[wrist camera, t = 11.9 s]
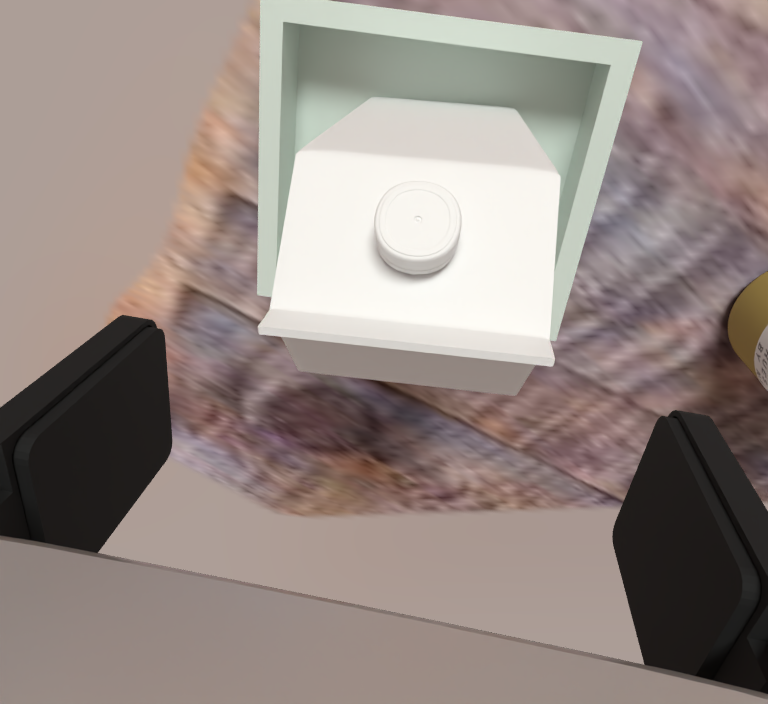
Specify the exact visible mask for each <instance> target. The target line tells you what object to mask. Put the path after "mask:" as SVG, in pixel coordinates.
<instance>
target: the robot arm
mask: <svg viewBox="0 0 768 704" xmlns="http://www.w3.org/2000/svg"><path fill="white" fill-rule="evenodd" d="M171 448H172V430H171V416H170V402H169V388H168V374H167V360H166V346H165V335H164V332H163V330H161V329H158V328H157V326H156V324H155V322H154V321H153V320H149V319H143V318H137V317H132V316H126V315H122V316H120V317H118V318H117V319H115V320H114V321H113V322H111V323H110V324H109V325H107V326H106V327H105V328H103V329H102V330H101V331H100V332H98V333H97V334H96V335H95V336H93V337H92V338H90V339H89V340H88V341H87V342H85V343H84V344H83V345H81V346H80V347H79V348H78V349H76V350H75V351H74V352H72V353H71V354H70V355H68V356H67V357H66V358H64V359H63V360H62V361H61V362H59V363H58V364H57V365H56V366H54V367H53V368H51V369H50V370H49V371H47V372H46V373H45V374H44V375H43V376H41V377H40V378H38V379H37V380H36V381H35V382H33V383H32V384H31V385H29V386H28V387H27V388H25V389H24V390H23V391H21V392H20V393H19V394H18V395H16V396H15V397H14V398H12V399H11V400H10V401H8V402H7V403H6V404H5V405H3V406H2V407H1V408H0V704H768V511H767V509H766V508H765V506H764V504H763V503H762V501H761V499H760V498H759V496H758V495H757V493H756V491H755V490H754V488H753V486H752V485H751V483H750V481H749V480H748V478H747V476H746V475H745V473H744V471H743V470H742V468H741V467H740V465H739V463H738V462H737V460H736V458H735V457H734V455H733V453H732V452H731V450H730V448H729V447H728V445H727V443H726V442H725V440H724V439H723V437H722V435H721V434H720V432H719V430H718V429H717V427H716V425H715V424H714V422H713V420H712V419H711V418H710V417H709V416H706V415H700V414H695V413H689V412H683V411H677V410H675V411H672V412H671V413H670V414H669V416H668V417H666V416H661V417H660V418H659V419H658V420H657V422H656V424H655V427H654V429H653V432H652V434H651V437H650V439H649V442H648V444H647V446H646V449H645V451H644V454H643V456H642V459H641V461H640V463H639V466H638V468H637V471H636V473H635V476H634V478H633V480H632V483H631V485H630V488H629V490H628V493H627V495H626V497H625V500H624V502H623V505H622V507H621V510H620V512H619V514H618V517H617V519H616V522H615V525H614V529H613V546H614V549H615V553H616V557H617V561H618V565H619V569H620V573H621V576H622V580H623V584H624V588H625V592H626V595H627V599H628V603H629V607H630V611H631V614H632V618H633V622H634V626H635V629H636V634H637V637H638V641H639V645H640V649H641V653H642V656H643V660H644V664H645V665H642V664H638V663H633V662H629V661H624V660H620V659H615V658H610V657H606V656H602V655H597V654H592V653H587V652H583V651H578V650H573V649H568V648H564V647H558V646H554V645H549V644H544V643H540V642H535V641H530V640H525V639H521V638H516V637H511V636H506V635H501V634H497V633H492V632H487V631H482V630H477V629H473V628H468V627H463V626H458V625H454V624H449V623H444V622H439V621H434V620H429V619H424V618H419V617H415V616H410V615H404V614H400V613H395V612H390V611H385V610H380V609H375V608H370V607H365V606H361V605H355V604H351V603H346V602H341V601H336V600H331V599H326V598H321V597H316V596H311V595H306V594H302V593H296V592H292V591H286V590H282V589H277V588H272V587H267V586H262V585H257V584H252V583H247V582H241V581H237V580H232V579H227V578H222V577H217V576H212V575H206V574H201V573H196V572H191V571H186V570H181V569H176V568H171V567H166V566H161V565H156V564H151V563H145V562H140V561H135V560H130V559H125V558H120V557H115V556H110V555H105V554H100V553H98V552H99V550H100V549H101V548H102V546H103V545H104V544H105V542H106V541H107V539H108V538H109V537H110V536H111V534H112V533H113V532H114V530H115V529H116V527H117V526H118V524H119V523H120V522H121V521H122V519H123V518H124V517H125V515H126V514H127V513H128V511H129V510H130V509H131V507H132V506H133V505H134V503H135V502H136V501H137V499H138V498H139V497H140V495H141V494H142V493H143V491H144V490H145V488H146V487H147V486H148V485H149V483H150V482H151V481H152V479H153V478H154V477H155V475H156V474H157V472H158V471H159V470H160V468H161V467H162V465H163V464H164V463H165V462H166V460H167V459H168V457H169V455H170V452H171Z"/></svg>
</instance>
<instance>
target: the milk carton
mask: <svg viewBox="0 0 768 704" xmlns="http://www.w3.org/2000/svg"><path fill="white" fill-rule="evenodd" d="M560 178H561V176H560V175H559V174H558V171H557V170H556V168H555V166H554V165H553V163H552V162H551V161H550V159H549V158H548V156H547V155H546V153H545V152H544V150H543V149H542V147H541V146H540V144H539V143H538V141H537V140H536V138H535V137H534V135H533V134H532V132H531V131H530V129H529V128H528V126H527V125H526V123H525V122H524V121H523V119H522V118H521V116H520V115H519V113H518V112H517V110H516V109H515V108H511V107H502V106H490V105H478V104H465V103H452V102H440V101H427V100H415V99H402V98H389V97H371V98H370V99H368V100H367V101H366V102H364V103H363V104H361V105H360V106H359V107H357V108H356V109H355V110H353V111H352V112H351V113H349V114H348V115H346V116H345V117H344V118H342V119H341V120H340V121H338V122H337V123H335V124H334V125H333V126H331V127H330V128H329V129H327V130H326V131H325V132H323V133H322V134H320V135H319V136H318V137H316V138H315V139H314V140H312V141H311V142H310V143H308V144H307V145H306V146H304V147H303V148H302V149H301V150H300V151H299V152H297V153H296V157H295V162H294V168H293V174H292V180H291V186H290V192H289V197H288V203H287V209H286V215H285V221H284V227H283V233H282V239H281V245H280V251H279V257H278V262H277V268H276V274H275V280H274V286H273V292H272V298H271V304H270V310H269V311H268V313H267V314H266V316H265V317H264V318H263V320H262V321H261V323H260V324H259V326H258V332H259V334H262V335H271V336H280V337H282V339H283V341H284V343H285V345H286V347H287V349H288V351H289V353H290V355H291V357H292V359H293V361H294V363H295V365H296V367H297V369H298V370H299V371H302V372H309V373H318V374H326V375H335V376H343V377H352V378H361V379H370V380H378V381H387V382H396V383H405V384H413V385H422V386H431V387H440V388H448V389H457V390H466V391H475V392H483V393H492V394H502V395H513V396H516V395H517V393H518V392H519V390H520V389H521V387H522V386H523V384H524V382H525V381H526V379H527V378H528V376H529V374H530V373H531V371H532V370H533V368H534V367H535V365H543V366H553V365H554V361H555V357H554V353H553V350H552V346H551V343H550V328H551V313H552V298H553V284H554V269H555V254H556V239H557V224H558V210H559V195H560Z"/></svg>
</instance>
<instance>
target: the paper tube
mask: <svg viewBox="0 0 768 704" xmlns="http://www.w3.org/2000/svg"><path fill="white" fill-rule="evenodd" d="M728 336H729V340H730V343H731V345H732V347H733V349H734V351H735V352H736V354H737V355H738V356H739V357H740V359H741V360H742V361H743V362H744V363H745V364H746V366H747V367H748V368H749V369H750V370H751V372H752V373H753V374H754V375H755V376H756V377H757V379H758V380H759V381H760V382H761V384H762V385H763V387H764V388H765V389H766V390H767V391H768V271H767V272H765V273H764V274H762V275H760V276H759V277H758V278H756V279H755V280H754V281H752V282H751V283H750V284H749V285H748V286H747V287H746V288H745V289H744V290H743V292H742V293H741V294H740V296H739V297H738V298H737V300H736V302H735V303H734V305H733V308H732V310H731V313H730V316H729V320H728Z"/></svg>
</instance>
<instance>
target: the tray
mask: <svg viewBox="0 0 768 704" xmlns="http://www.w3.org/2000/svg"><path fill="white" fill-rule="evenodd" d="M642 42H643V41H637V40H629V39H621V38H614V37H606V36H598V35H591V34H583V33H575V32H567V31H560V30H552V29H544V28H537V27H529V26H521V25H514V24H506V23H498V22H490V21H483V20H475V19H467V18H460V17H452V16H444V15H436V14H429V13H421V12H413V11H406V10H398V9H390V8H382V7H375V6H367V5H359V4H352V3H344V2H336V1H329V0H260V82H259V178H258V275H257V295H260V296H266V297H272V292H273V286H274V280H275V274H276V268H277V262H278V257H279V251H280V245H281V239H282V233H283V227H284V221H285V215H286V209H287V203H288V197H289V192H290V186H291V180H292V174H293V168H294V162H295V157H296V153H297V152H299V151H300V150H301V149H302V148H303V147H304V146H306V145H307V144H308V143H310V142H311V141H312V140H314V139H315V138H316V137H318V136H319V135H320V134H322V133H323V132H325V131H326V130H327V129H329V128H330V127H331V126H333V125H334V124H335V123H337V122H338V121H340V120H341V119H342V118H344V117H345V116H346V115H348V114H349V113H351V112H352V111H353V110H355V109H356V108H357V107H359V106H360V105H361V104H363V103H364V102H366V101H367V100H368V99H370V98H371V97H389V98H402V99H415V100H427V101H440V102H452V103H465V104H478V105H490V106H502V107H511V108H515V109H516V110H517V112H518V113H519V115H520V116H521V118H522V119H523V121H524V122H525V123H526V125H527V126H528V128H529V129H530V131H531V132H532V134H533V135H534V137H535V138H536V140H537V141H538V143H539V144H540V146H541V147H542V149H543V150H544V152H545V153H546V155H547V156H548V158H549V159H550V161H551V162H552V163H553V165H554V166H555V168H556V170H557V171H558V174H559V175H560V176H561V178H560V195H559V210H558V224H557V239H556V254H555V269H554V284H553V298H552V313H551V328H550V340H552V341H556V339H557V335H558V332H559V328H560V325H561V321H562V318H563V314H564V311H565V308H566V304H567V301H568V297H569V294H570V290H571V287H572V283H573V280H574V277H575V273H576V270H577V266H578V263H579V259H580V256H581V252H582V249H583V246H584V242H585V239H586V235H587V232H588V228H589V225H590V221H591V218H592V215H593V211H594V208H595V204H596V201H597V197H598V194H599V190H600V187H601V183H602V180H603V177H604V173H605V170H606V166H607V163H608V159H609V156H610V152H611V149H612V146H613V142H614V139H615V135H616V132H617V128H618V125H619V121H620V118H621V115H622V111H623V108H624V104H625V101H626V97H627V94H628V90H629V87H630V84H631V80H632V77H633V73H634V70H635V66H636V63H637V59H638V56H639V53H640V49H641V46H642Z"/></svg>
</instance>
